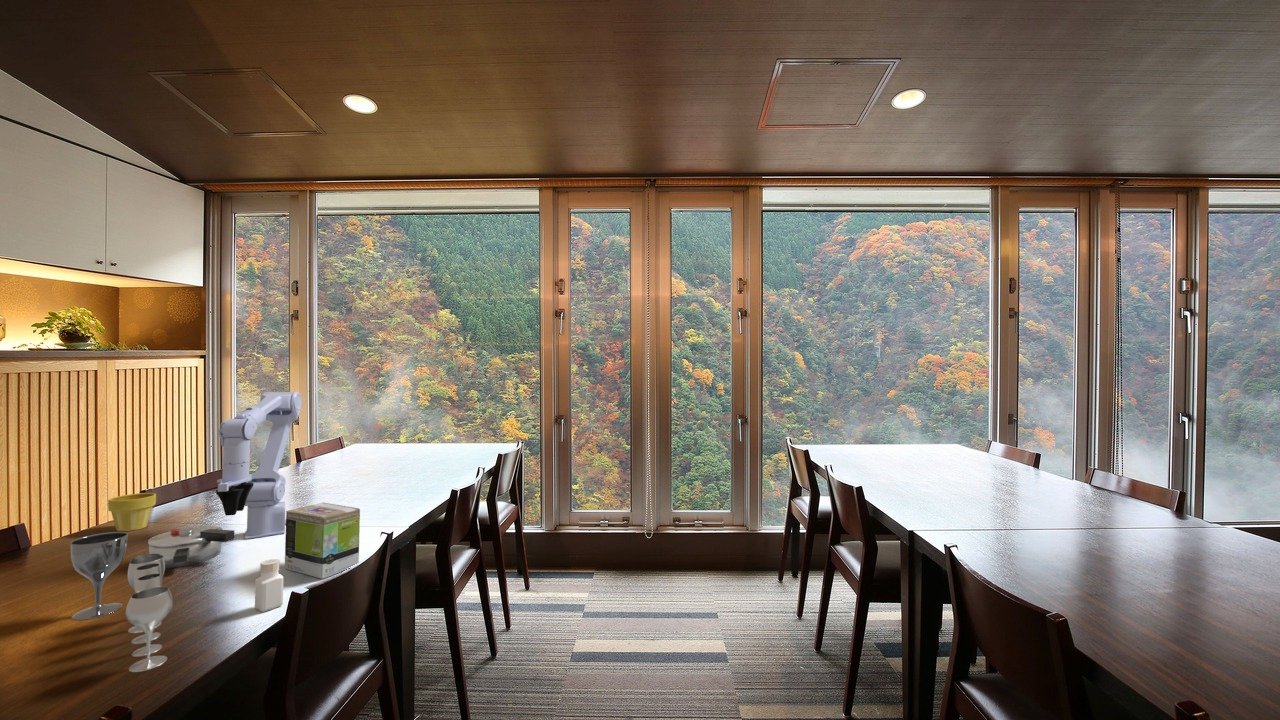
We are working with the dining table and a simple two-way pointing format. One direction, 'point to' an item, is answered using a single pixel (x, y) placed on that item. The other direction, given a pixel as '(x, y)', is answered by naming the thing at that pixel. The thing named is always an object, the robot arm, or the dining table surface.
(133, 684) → the dining table surface
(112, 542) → the wine glass
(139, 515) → the plant pot
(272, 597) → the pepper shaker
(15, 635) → the dining table surface
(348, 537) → the tea box
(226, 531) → the cooker lid
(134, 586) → the goblet set
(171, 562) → the cooker pot
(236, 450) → the robot arm
